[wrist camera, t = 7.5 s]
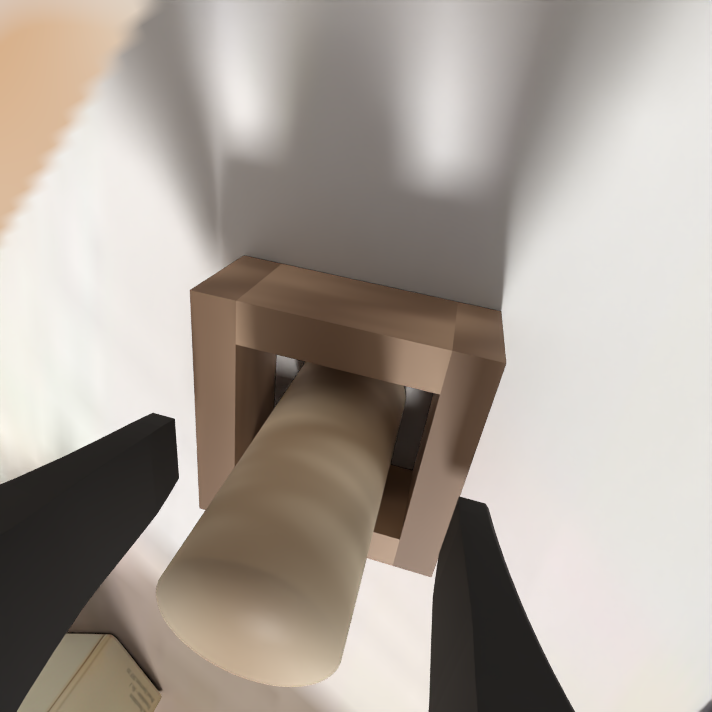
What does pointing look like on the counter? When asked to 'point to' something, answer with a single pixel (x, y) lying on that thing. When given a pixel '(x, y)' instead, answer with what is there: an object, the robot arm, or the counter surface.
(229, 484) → the beech peg
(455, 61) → the counter surface
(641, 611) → the counter surface
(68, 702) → the skincare box
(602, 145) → the counter surface
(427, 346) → the walnut holder
